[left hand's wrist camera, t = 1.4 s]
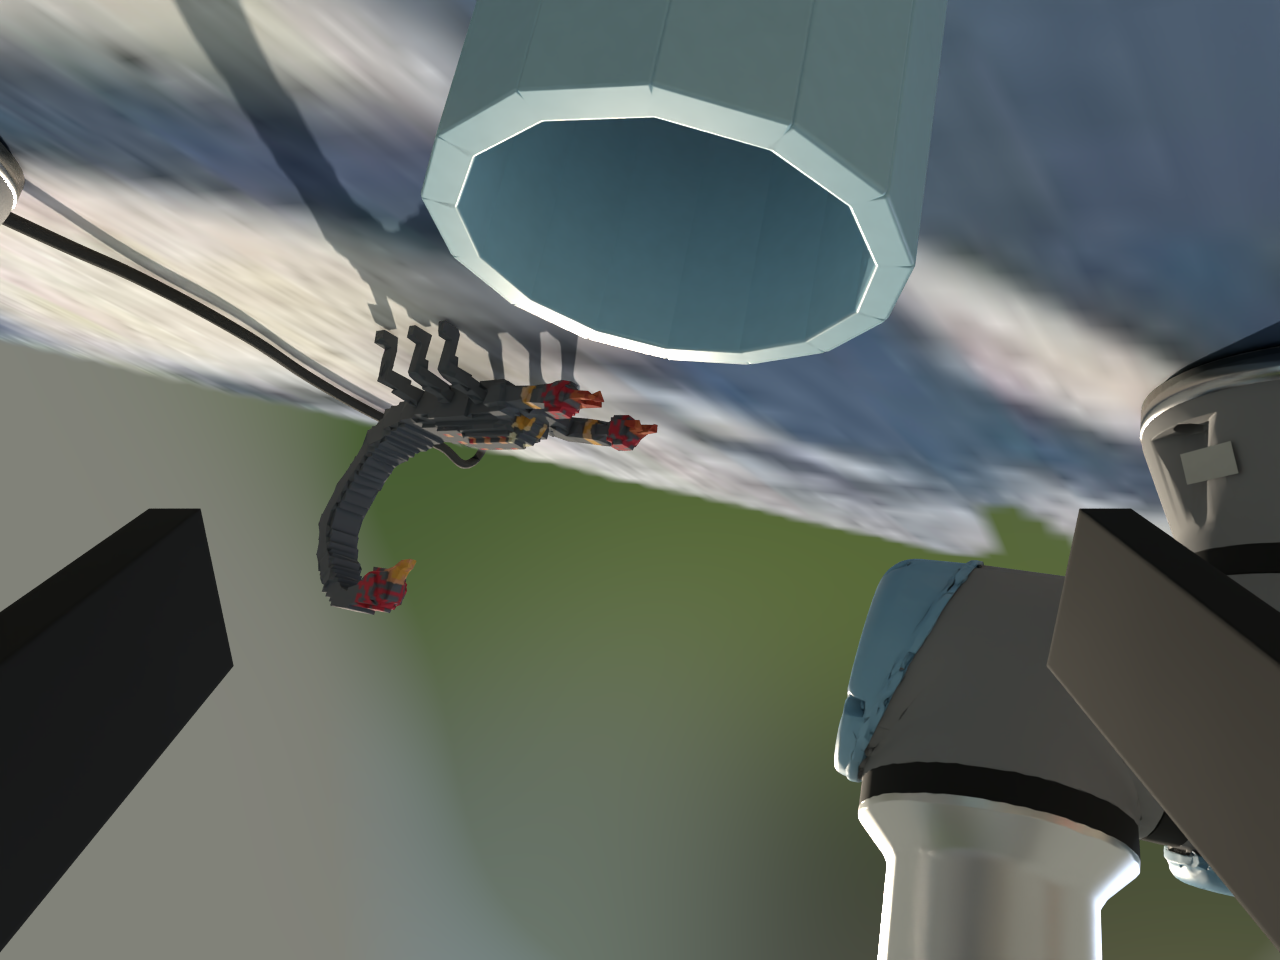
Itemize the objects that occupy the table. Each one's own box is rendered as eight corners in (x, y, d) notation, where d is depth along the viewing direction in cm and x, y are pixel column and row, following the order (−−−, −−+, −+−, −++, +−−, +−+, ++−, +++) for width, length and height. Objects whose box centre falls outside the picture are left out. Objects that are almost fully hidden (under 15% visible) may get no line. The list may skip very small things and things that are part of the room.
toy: (301, 342, 61) (222, 582, 56) (574, 301, 45) (496, 627, 41) (434, 411, 71) (376, 618, 67) (694, 396, 56) (642, 665, 51)
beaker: (1038, -158, 19) (993, 327, 16) (717, 13, 25) (640, 382, 22) (848, -663, 13) (711, -24, 9) (486, -265, 19) (331, 195, 16)
